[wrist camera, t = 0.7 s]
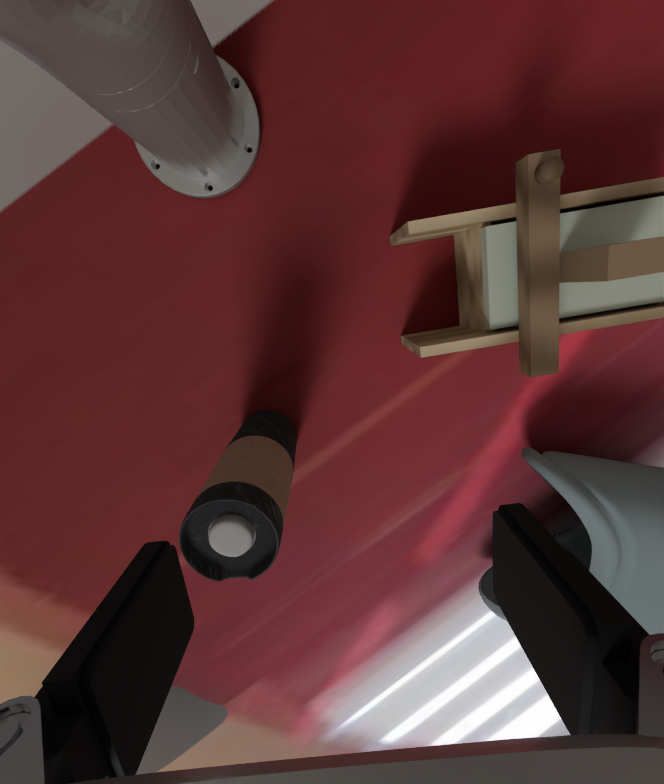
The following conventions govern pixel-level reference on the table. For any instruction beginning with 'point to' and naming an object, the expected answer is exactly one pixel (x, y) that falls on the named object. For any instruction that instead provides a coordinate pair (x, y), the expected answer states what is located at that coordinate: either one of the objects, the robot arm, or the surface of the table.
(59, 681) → the robot arm
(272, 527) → the travel mug
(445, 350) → the toolbox
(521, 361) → the wooden bar
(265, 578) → the table surface
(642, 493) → the grey hat
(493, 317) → the lid
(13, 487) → the table surface
